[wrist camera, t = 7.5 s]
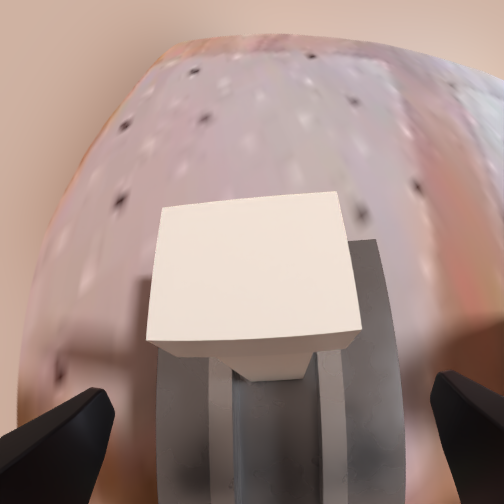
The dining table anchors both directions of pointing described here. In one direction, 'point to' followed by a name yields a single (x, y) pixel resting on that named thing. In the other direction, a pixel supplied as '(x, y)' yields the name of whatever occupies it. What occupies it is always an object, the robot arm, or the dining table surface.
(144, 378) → the dining table surface
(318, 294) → the handle
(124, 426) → the dining table surface
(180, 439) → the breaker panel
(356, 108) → the dining table surface
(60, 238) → the dining table surface
